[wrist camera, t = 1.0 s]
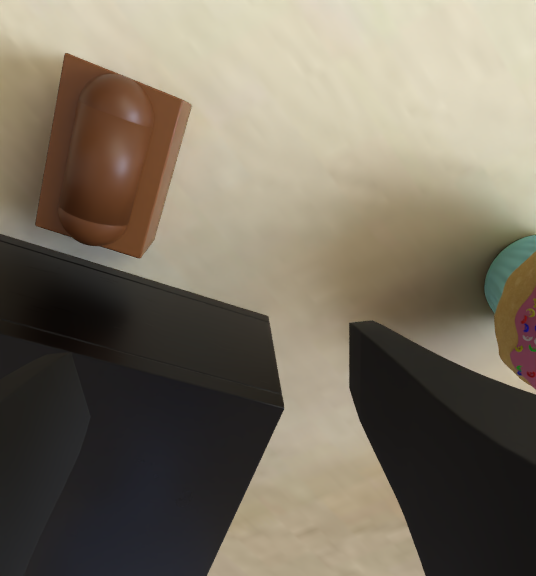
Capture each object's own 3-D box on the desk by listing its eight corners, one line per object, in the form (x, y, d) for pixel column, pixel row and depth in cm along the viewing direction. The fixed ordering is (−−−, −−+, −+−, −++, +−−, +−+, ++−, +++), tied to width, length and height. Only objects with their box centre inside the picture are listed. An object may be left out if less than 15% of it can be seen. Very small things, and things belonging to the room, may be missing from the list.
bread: (154, 240, 19) (132, 269, 15) (64, 211, 18) (17, 233, 14) (192, 104, 17) (178, 97, 13) (93, 65, 16) (47, 44, 12)
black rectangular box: (-31, 423, 22) (-153, 559, 15) (-4, 232, 19) (-149, 295, 12) (203, 474, 25) (191, 610, 18) (268, 315, 21) (285, 408, 14)
